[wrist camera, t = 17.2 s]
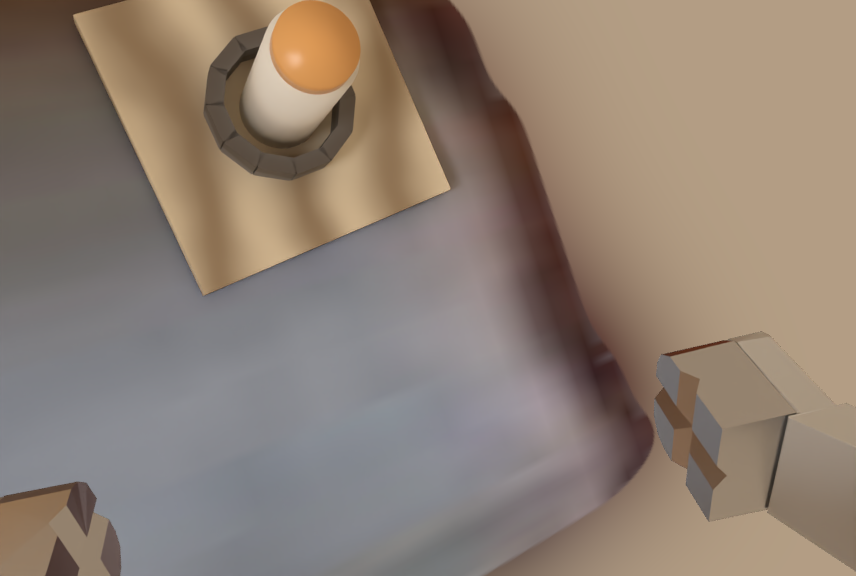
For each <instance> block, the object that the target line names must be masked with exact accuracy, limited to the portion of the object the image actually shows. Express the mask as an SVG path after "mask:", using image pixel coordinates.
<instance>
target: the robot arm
mask: <svg viewBox="0 0 856 576" xmlns="http://www.w3.org/2000/svg"><path fill="white" fill-rule="evenodd" d="M656 376H657V377H658V379H659V381H660V382H661V384H662V385H663V386H664V387H663V389H662V390H661V391H660V392H659V394H658V395H657V396H656V397H655V402H654V417H655V422H656V427H657V432H658V435H659V438H660V440H661V442H662V445H663V447H664V449H665V451H666V452H667V454H668V456H669V457H670V459H671V461H673V462H675V463H677V464H678V465H680V466H682V467H684V468H686V469H687V478H686V486H687V487H688V489H689V491H690V492H691V494H692V495H693V497H694V499H695V500H696V502H697V503H698V505H699V507H700V508H701V510H702V511H703V513H704V515H705V517H706V518H707V520H708V521H709V522H710V521H715V520H720V519H724V518H729V517H734V516H739V515H743V514H748V513H753V512H758V511H763V510H768V511H767V513H769V514H770V515H772V516H773V517H775V518H776V519H778V520H779V521H781V522H782V523H784V524H785V525H787V526H788V527H790V528H791V529H793V530H794V531H796V532H797V533H799V534H800V535H802V536H803V537H805V538H806V539H808V540H809V541H811V542H812V543H814V544H815V545H817V546H818V547H820V548H821V549H823V550H824V551H826V552H827V553H829V554H831V555H832V556H833V557H835V558H836V559H838V560H839V561H841V562H842V563H844V564H845V565H847V566H849V567H850V568H851V569H853V570H855V571H856V407H854V406H852V405H850V404H847V403H845V404H840V405H835V403H834V402H833V401H832V400H831V399H830V398H829V397H828V396H827V395H826V394H825V393H824V392H823V391H822V390H821V389H820V388H819V387H818V385H817V384H816V383H815V382H814V381H813V380H812V379H811V378H810V377H809V376H808V375H807V374H806V373H805V372H804V371H803V370H802V369H801V368H800V367H799V365H798V364H797V363H796V362H795V361H794V360H793V359H792V358H791V357H790V356H789V355H788V354H787V353H786V352H785V351H784V350H783V349H782V348H781V346H780V345H779V344H778V343H777V342H776V341H775V340H774V339H773V338H772V337H771V336H770V335H768V334H766V333H764V332H762V331H761V332H757V333H753V334H748V335H744V336H739V337H735V338H731V339H728V340H723V341H719V342H714V343H710V344H705V345H701V346H697V347H693V348H688V349H684V350H679V351H674V352H670V353H666V354H661V356H660V358H659V361H658V362H657V373H656ZM96 499H97V498H96V497H95V495H94V494H93V492H92V491H91V489H90V488H89V486H88V485H87V483H84V482H73V483H68V484H63V485H58V486H53V487H48V488H42V489H37V490H32V491H27V492H22V493H17V494H11V495H6V496H4V497H1V498H0V576H120V572H121V555H120V545H119V541H118V538H117V535H116V531H115V530H114V528H113V526H112V524H111V522H110V521H109V519H107V518H104V517H102V516H100V515H98V514H96V513H94V512H93V511H94V507H95V503H96Z"/></svg>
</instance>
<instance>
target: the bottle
mask: <svg viewBox="0 0 856 576" xmlns="http://www.w3.org/2000/svg"><path fill="white" fill-rule="evenodd" d="M360 52H361V47H360V40H359V36H358V33H357V31H356V29H355V27H354V25H353V24H352V22H351V21H350V19H349V18H348V17H347V16H346V15H345V14H344V13H343V12H342V11H340V10H339V9H338V8H336V7H334V6H332V5H330V4H328V3H325V2H322V1H316V0H306V1H301V2H297V3H295V4H293V5H291V6H289V7H288V8H287V9H285V10H283V11H281V12H280V13H279V14H278V15H276V16H275V17H274V18H273V20H272V21H271V22H270V24H269V26H268V28H267V30H266V32H265V35H264V37H263V40H262V43H261V45H260V48H259V50H258V53H257V55H256V58H255V60H254V63H253V65H252V68H251V71H250V73H249V76H248V78H247V81H246V83H245V86H244V88H243V91H242V94H241V97H240V102H239V111H240V116H241V119H242V122H243V124H244V126H245V128H246V129H247V131H248V132H249V133H250V134H251V135H252V136H253V137H254V138H255V139H256V140H258V141H259V142H261V143H262V144H264V145H267V146H269V147H273V148H279V149H286V148H292V147H295V146H297V145H300V144H301V143H303V142H304V141H306V140H307V139H308V138H309V137H310V135H311V134H312V133H313V132H314V131H315V129H316V128H317V127H318V126H319V124H320V123H321V122H322V121H323V119H324V118H325V117H326V116H327V114H328V113H329V112H330V111H331V109H332V108H333V107H334V106H335V104H336V103H337V102H338V101H339V99H340V98H341V97H342V96H343V94H344V93H345V92H346V91H347V89H348V88H349V87H350V86H351V84H352V83H353V81H354V80H355V78H356V76H357V73H358V70H359V64H360Z"/></svg>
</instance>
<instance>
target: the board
mask: <svg viewBox="0 0 856 576" xmlns="http://www.w3.org/2000/svg"><path fill="white" fill-rule="evenodd" d="M301 1H306V0H126V1H122V2H119V3H115V4H111V5H107V6H104V7H100V8H96V9H93V10H89V11H85V12H81V13H78V14H74V15H73V17H74V22H75V25H76V27H77V29H78V31H79V33H80V35H81V37H82V40H83V42H84V44H85V46H86V48H87V50H88V52H89V54H90V57H91V59H92V61H93V63H94V65H95V67H96V69H97V71H98V74H99V76H100V78H101V80H102V82H103V84H104V86H105V88H106V91H107V93H108V95H109V97H110V99H111V101H112V103H113V105H114V108H115V110H116V112H117V114H118V116H119V118H120V120H121V122H122V125H123V127H124V129H125V131H126V133H127V135H128V137H129V139H130V142H131V144H132V146H133V148H134V150H135V152H136V154H137V156H138V159H139V161H140V163H141V165H142V167H143V169H144V171H145V173H146V176H147V178H148V180H149V182H150V184H151V186H152V188H153V190H154V193H155V195H156V197H157V199H158V201H159V203H160V205H161V207H162V210H163V212H164V214H165V216H166V218H167V220H168V222H169V224H170V227H171V229H172V231H173V233H174V235H175V237H176V239H177V241H178V244H179V246H180V248H181V250H182V252H183V254H184V256H185V259H186V261H187V263H188V265H189V267H190V269H191V271H192V273H193V276H194V278H195V280H196V282H197V284H198V286H199V288H200V290H201V293H202V295H203V296H204V295H207V294H209V293H211V292H214V291H216V290H218V289H221V288H223V287H225V286H228V285H230V284H232V283H235V282H237V281H239V280H242V279H244V278H246V277H249V276H251V275H253V274H256V273H258V272H260V271H263V270H265V269H267V268H270V267H272V266H274V265H277V264H279V263H281V262H284V261H286V260H288V259H291V258H293V257H295V256H298V255H300V254H302V253H304V252H307V251H309V250H311V249H314V248H316V247H318V246H321V245H323V244H325V243H328V242H330V241H332V240H335V239H337V238H339V237H342V236H344V235H346V234H349V233H351V232H353V231H356V230H358V229H360V228H363V227H365V226H367V225H370V224H372V223H374V222H377V221H379V220H381V219H384V218H386V217H388V216H391V215H393V214H395V213H398V212H400V211H402V210H405V209H407V208H409V207H411V206H414V205H416V204H418V203H421V202H423V201H425V200H428V199H430V198H432V197H435V196H437V195H439V194H442V193H444V192H446V191H448V190H450V189H451V188H450V186H449V184H448V181H447V179H446V177H445V174H444V172H443V170H442V167H441V165H440V163H439V160H438V158H437V156H436V153H435V151H434V149H433V146H432V144H431V142H430V140H429V137H428V135H427V133H426V130H425V128H424V126H423V123H422V121H421V119H420V116H419V114H418V112H417V109H416V107H415V105H414V102H413V100H412V98H411V95H410V93H409V91H408V89H407V86H406V84H405V82H404V79H403V77H402V75H401V72H400V70H399V68H398V65H397V63H396V61H395V58H394V56H393V54H392V51H391V49H390V47H389V44H388V42H387V40H386V38H385V35H384V33H383V31H382V28H381V26H380V24H379V21H378V19H377V17H376V14H375V12H374V10H373V7H372V5H371V3H370V0H316V1H322V2H325V3H328V4H330V5H332V6H334V7H336V8H338V9H339V10H340V11H342V12H343V13H344V14H345V15H346V16H347V17H348V18H349V19H350V21H351V22H352V24H353V25H354V27H355V29H356V31H357V33H358V36H359V40H360V47H361V52H360V64H359V70H358V73H357V76H356V78H355V80H354V81H353V83H352V84H351V86H350V87H349V88H348V89H347V91H346V92H345V93H344V94H343V96H342V97H341V98H340V99H339V101H338V102H337V103H336V104H335V106H334V107H333V108H332V109H331V111H330V112H329V113H328V114H327V116H326V117H325V118H324V119H323V121H322V122H321V123H320V124H319V126H318V127H317V128H316V129H315V131H314V132H313V133H312V134H311V135H310V137H309V138H308V139H307V140H306V141H304V142H303V143H301V144H300V145H297V146H295V147H292V148H286V149H279V148H273V147H269V146H267V145H264V144H262V143H261V142H259V141H258V140H256V139H255V138H254V137H253V136H252V135H251V134H250V133H249V132H248V131H247V129H246V128H245V126H244V124H243V122H242V119H241V116H240V111H239V102H240V97H241V94H242V91H243V88H244V86H245V83H246V81H247V78H248V76H249V73H250V71H251V68H252V65H253V63H254V60H255V58H256V55H257V53H258V50H259V48H260V45H261V43H262V40H263V37H264V35H265V32H266V30H267V28H268V26H269V24H270V22H271V21H272V20H273V18H274V17H275V16H276V15H278V14H279V13H280V12H281V11H283V10H285V9H287V8H288V7H289V6H291V5H293V4H295V3H297V2H301Z"/></svg>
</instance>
